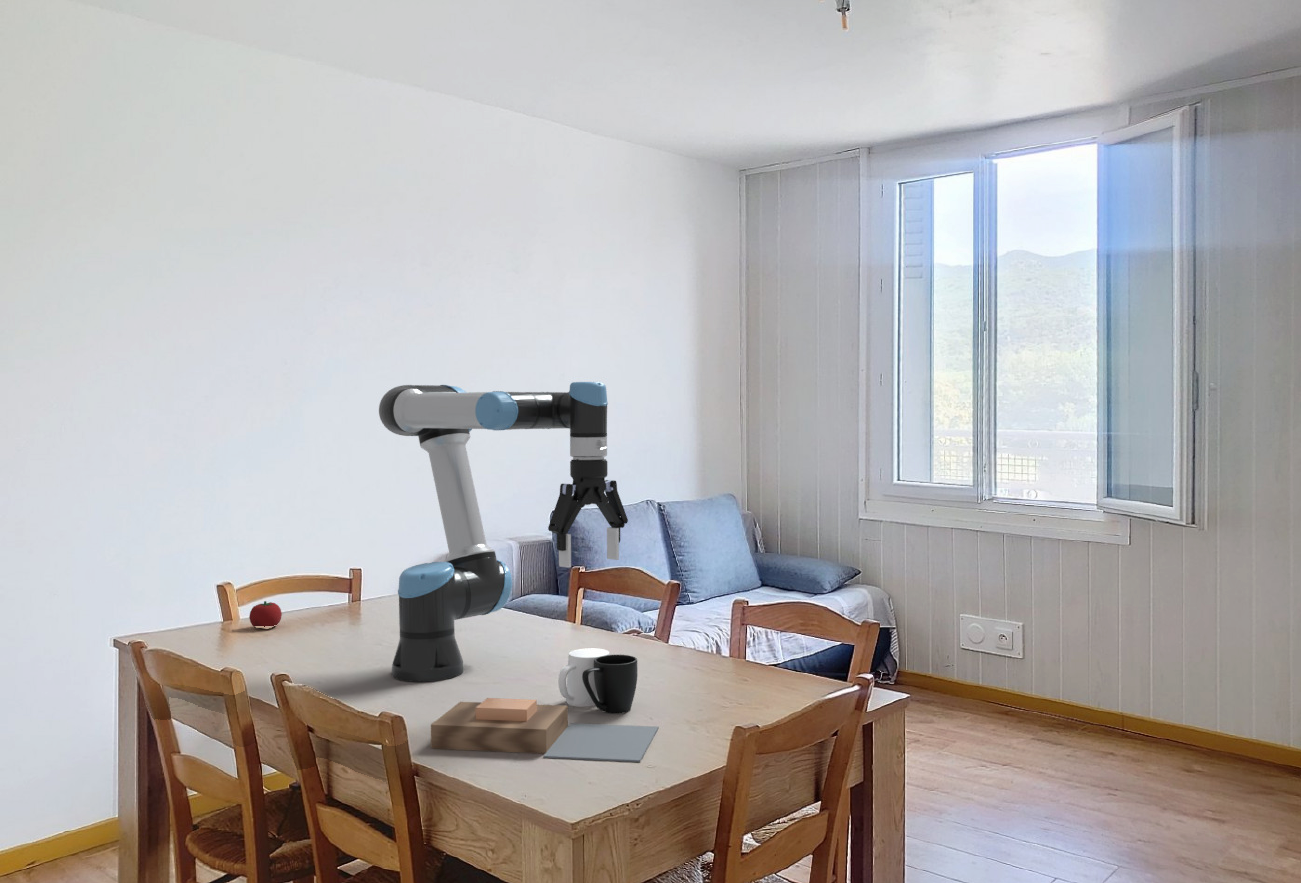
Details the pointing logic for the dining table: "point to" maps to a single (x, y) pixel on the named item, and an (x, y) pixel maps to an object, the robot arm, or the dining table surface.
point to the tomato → (265, 614)
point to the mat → (602, 742)
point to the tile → (506, 709)
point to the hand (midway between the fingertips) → (589, 563)
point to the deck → (498, 730)
